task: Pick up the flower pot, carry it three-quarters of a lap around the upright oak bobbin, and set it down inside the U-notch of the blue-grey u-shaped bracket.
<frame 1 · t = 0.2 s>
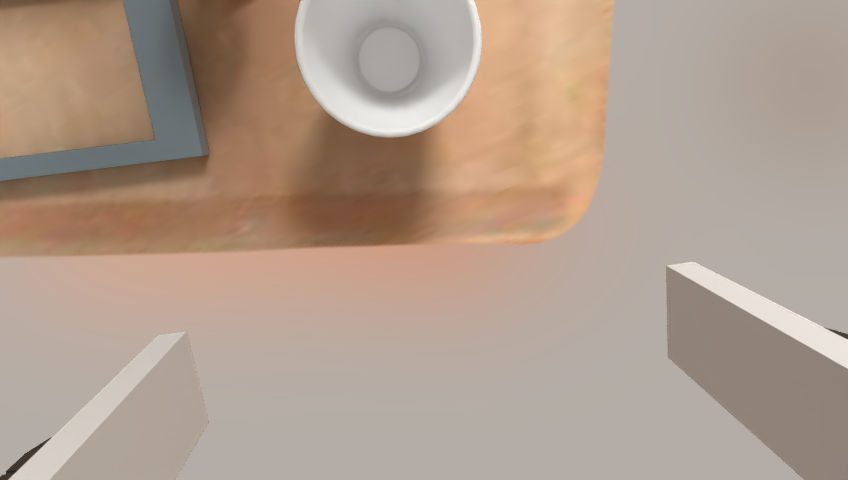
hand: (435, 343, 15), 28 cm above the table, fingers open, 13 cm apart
cup: (389, 60, 40), on the table
blue-grey u-shaped bracket: (59, 70, 38), on the table
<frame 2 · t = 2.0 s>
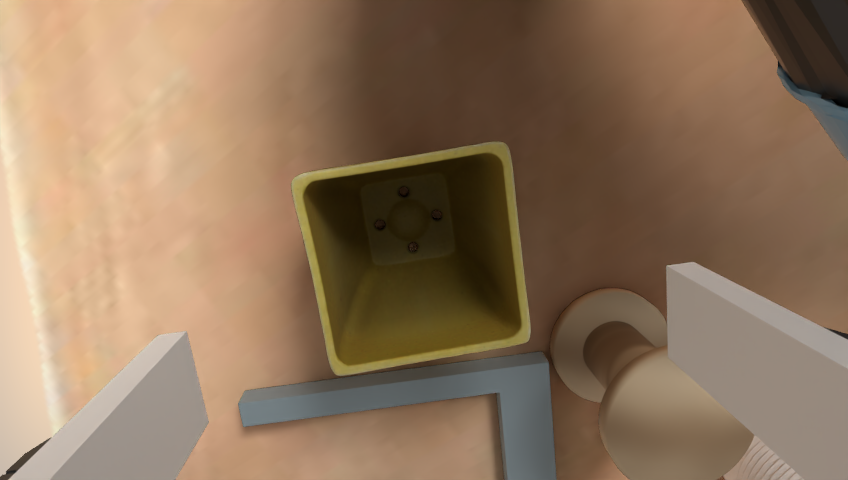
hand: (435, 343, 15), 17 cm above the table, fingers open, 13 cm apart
cup: (759, 447, 36), on the table
bobbin: (606, 342, 33), on the table
flower pot: (409, 220, 31), on the table
blue-grey u-shaped bracket: (408, 471, 35), on the table
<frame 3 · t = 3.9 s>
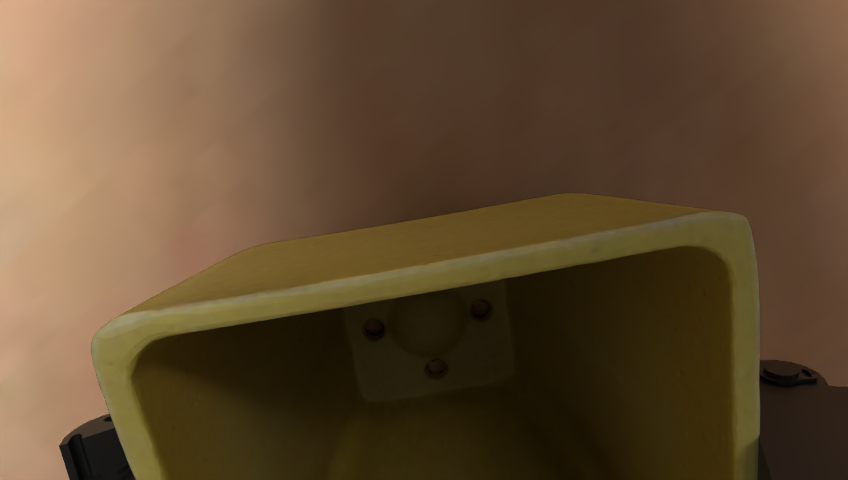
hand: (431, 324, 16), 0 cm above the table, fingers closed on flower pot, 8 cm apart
flower pot: (429, 317, 17), on the table, touching gripper
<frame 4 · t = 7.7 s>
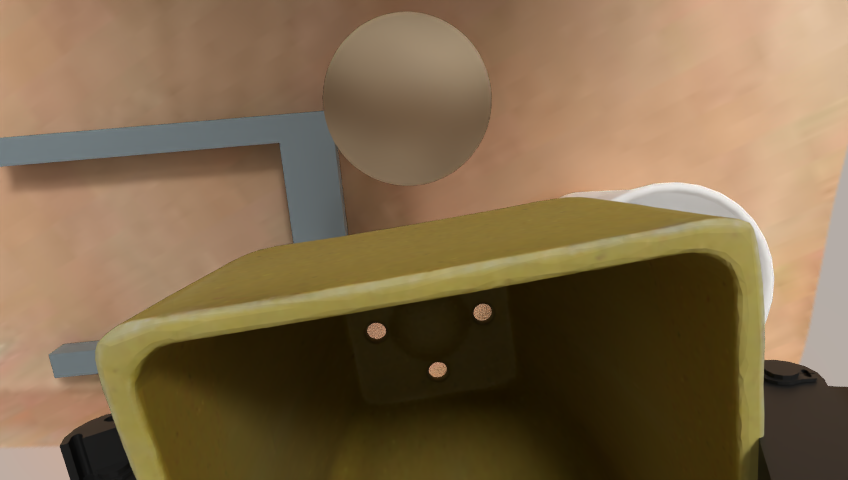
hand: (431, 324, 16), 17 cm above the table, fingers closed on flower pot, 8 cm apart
cup: (576, 239, 34), on the table
bobbin: (403, 104, 31), on the table
flower pot: (430, 319, 17), point 17 cm above the table, touching gripper
blue-grey u-shaped bracket: (196, 243, 33), on the table
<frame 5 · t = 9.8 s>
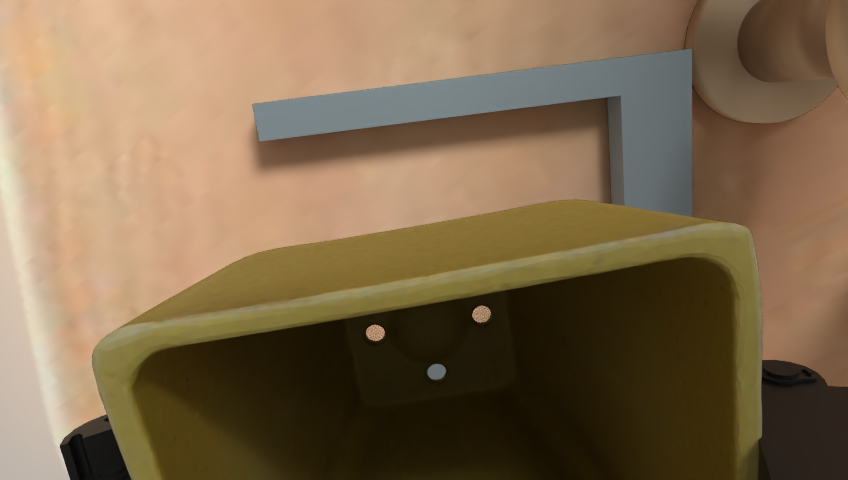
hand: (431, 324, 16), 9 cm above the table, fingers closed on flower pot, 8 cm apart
bobbin: (763, 40, 24), on the table
flower pot: (429, 321, 17), point 9 cm above the table, touching gripper
blue-grey u-shaped bracket: (484, 234, 25), on the table
when the fingers open (2 cm above the table, at t = 11.4 s): flower pot drops 1 cm, on the table.
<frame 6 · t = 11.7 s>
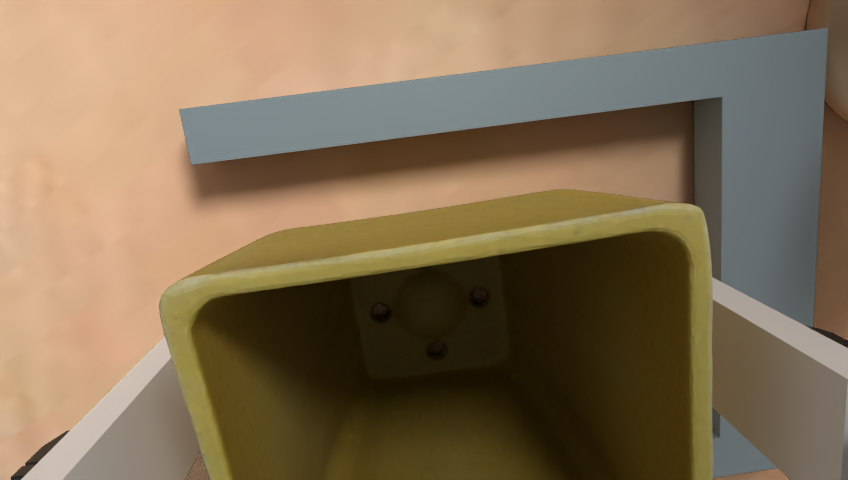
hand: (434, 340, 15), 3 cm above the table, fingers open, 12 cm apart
flower pot: (431, 302, 18), on the table
blue-grey u-shaped bracket: (517, 291, 18), on the table
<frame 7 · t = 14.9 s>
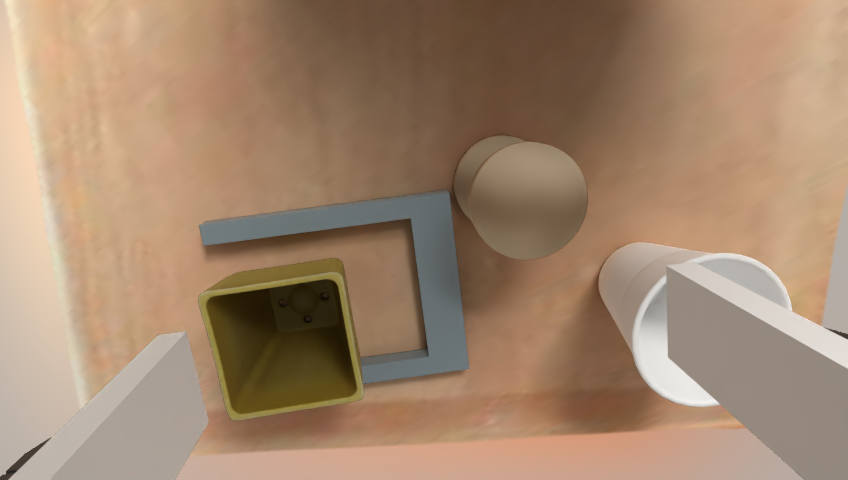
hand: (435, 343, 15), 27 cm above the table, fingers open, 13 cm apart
cup: (633, 277, 44), on the table
bobbin: (500, 182, 41), on the table
flower pot: (305, 299, 43), on the table
blue-grey u-shaped bracket: (342, 294, 42), on the table
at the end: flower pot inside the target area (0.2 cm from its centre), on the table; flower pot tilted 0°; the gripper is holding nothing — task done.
